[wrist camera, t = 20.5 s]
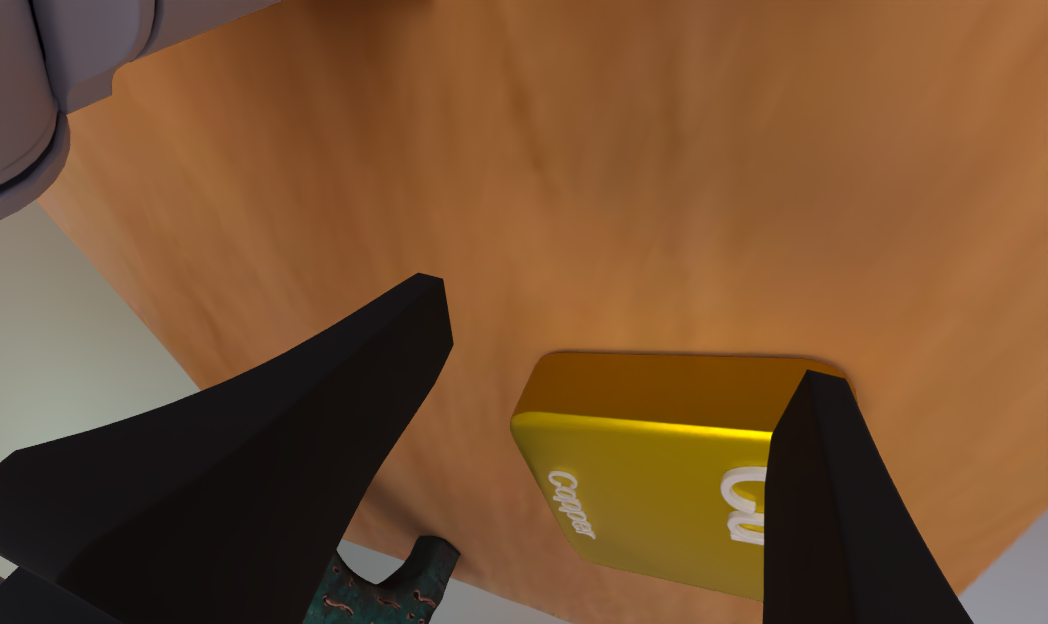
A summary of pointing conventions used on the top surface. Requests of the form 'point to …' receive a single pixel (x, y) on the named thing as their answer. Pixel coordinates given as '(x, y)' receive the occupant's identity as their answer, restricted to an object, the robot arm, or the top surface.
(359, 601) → the ceramic cat
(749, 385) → the element tile
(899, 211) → the top surface
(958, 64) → the top surface
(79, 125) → the top surface
